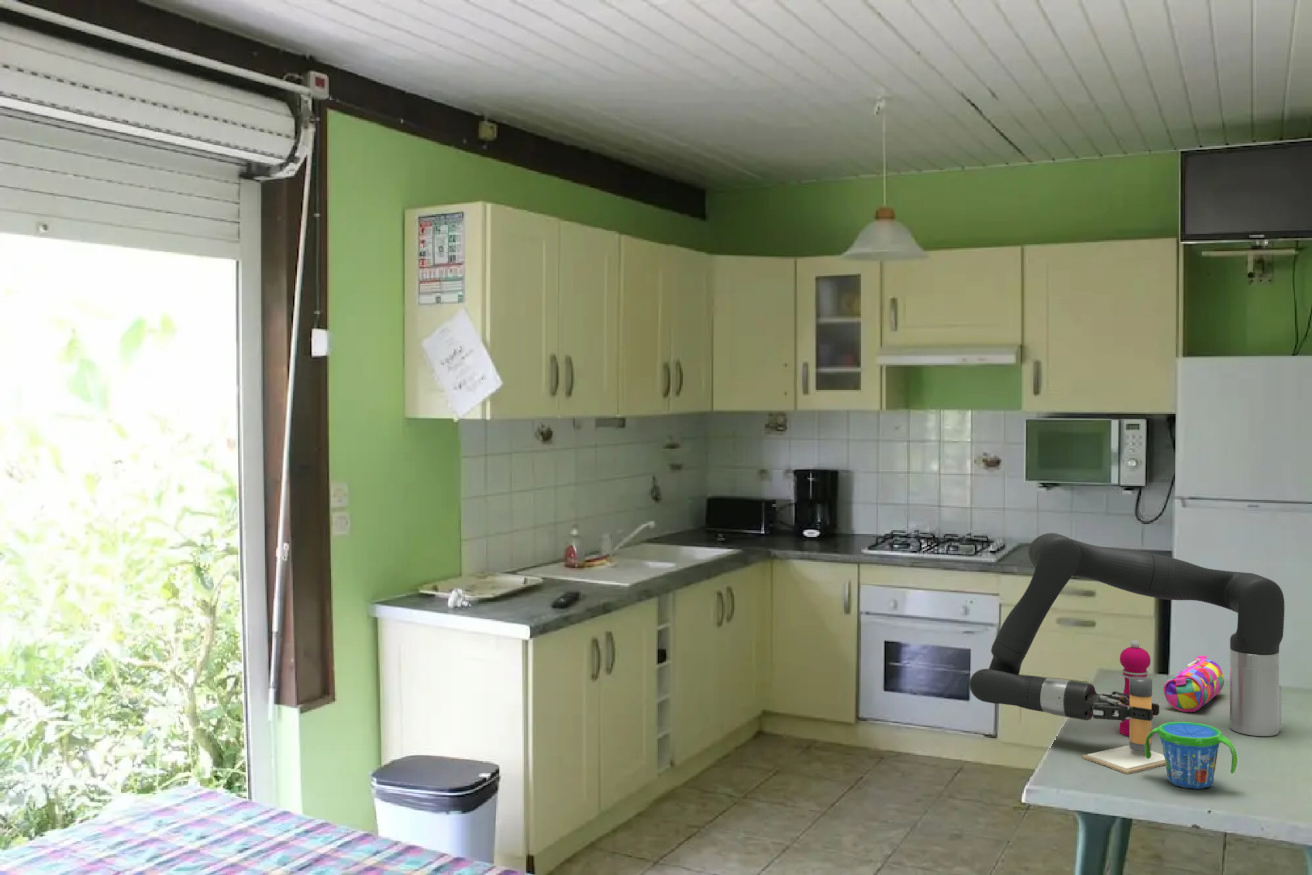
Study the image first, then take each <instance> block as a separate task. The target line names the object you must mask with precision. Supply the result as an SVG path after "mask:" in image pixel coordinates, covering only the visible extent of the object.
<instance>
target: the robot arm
mask: <svg viewBox="0 0 1312 875" xmlns="http://www.w3.org/2000/svg"><path fill="white" fill-rule="evenodd" d="M1028 557H1029V560H1030V562H1031V564H1032V566H1033V567H1034V572H1033V574H1032V577H1031V580H1030V582H1029V584H1028V586H1027V588H1026V590H1025V592H1024V593H1023V595H1022V596H1021V598H1020V599H1019V600H1018V601H1017V603H1016V604H1015V606H1014V607H1013V608H1012V609H1011V611H1010V612H1009V614H1008V615H1007V616H1006V618H1005V619H1004V622H1003V623H1002V625H1001V627H1000V629H999V631H998V633H997V635H996V637H995V639H994V641H993V643H992V645H991V650H990V651H991V655H992V659H991V661H990V665H989V666H988V668H982V669H979V670H976V671H975V672H974V673H973V674H972V676H971V677H970V679H969V689H970V692H971V694H972V695H973V697H975V698H976V699H978V701H981V702H985V703H990V704H994V705H998V704H999V705H1000V704H1001V705H1008V706H1015V707H1019V708H1022V709H1026V710H1031V711H1036V712H1041V713H1047V714H1050V715H1053V716H1057V717H1058V716H1059V717H1063V718H1064V717H1066V718H1070V719H1075V720H1083V721H1087V722H1088V721H1090V720H1091V719H1095V720H1112V721H1120V722H1122V721H1125V718H1126V719H1132V718H1134V719H1140V720H1146V721H1151V720H1152V721H1153V719H1154V717H1153V715H1154V716H1158V715H1159V714H1160V705H1159V704H1158V703H1153V702H1152V710H1151V709H1146V708H1140V707H1134V706H1133V707H1132V706H1130V704H1129V702H1130V695H1128V694H1124V693H1123V692H1120V691H1116V690H1115V691H1112V692H1103V693H1097V692H1096V688H1095V686H1094V684H1092V683H1091V682H1083V681H1076V680H1071V679H1063V678H1049V677H1048V678H1047V677H1041V676H1036V675H1035V676H1034V675H1022V674H1021V675H1020V672H1021V667H1022V663H1023V661H1024V660H1025V658H1026V656H1027V653H1028V651H1029V650H1030V648H1031V645H1032V644H1033V641H1034V640H1035V637H1036V636H1037V633H1038V631H1039V630H1040V628H1041V626H1042V623H1043V622H1044V619H1045V618H1046V616H1047V614H1048V613H1049V611H1050V610H1051V608H1052V606H1053V604H1054V603H1055V601H1056V600H1057V598H1058V597H1059V595H1060V593H1061V592H1062V591H1063V589H1064V588H1065V586H1066V585H1067V584H1068V582H1070V579H1072V577H1077V578H1084V579H1089V580H1094V581H1096V582H1100V583H1102V584H1105V585H1108V586H1111V587H1113V588H1116V589H1119V590H1123V591H1126V592H1128V593H1133V594H1136V595H1140V596H1145V597H1150V598H1155V599H1158V600H1159V599H1160V600H1169V601H1195V602H1196V601H1198V602H1203V603H1207V604H1209V605H1213V606H1214V605H1215V606H1217V607H1220V608H1223V609H1227V610H1229V611H1232V612H1234V613H1237V625H1236V632H1235V633H1232V634H1231V636H1230V637H1229V638H1230V639H1229V728H1230V729H1231V730H1232V731H1233V732H1237V733H1240V734H1243V735H1247V736H1254V737H1255V736H1257V737H1272V736H1277V735H1278V734H1280V731H1282V686H1281V685H1280V645H1281V643H1282V640H1283V637H1284V628H1285V627H1284V625H1285V597H1284V592H1283V591H1282V588H1281V587H1280V586H1279V584H1278V583H1276V582H1275V581H1273V580H1271V579H1269V578H1267V577H1265V576H1261V575H1259V574H1256V573H1254V572H1253V573H1251V572H1241V571H1232V570H1231V571H1230V570H1229V571H1228V570H1222V569H1221V570H1220V569H1213V568H1208V567H1204V566H1200V565H1197V564H1194V563H1191V562H1189V561H1185V560H1181V559H1179V558H1178V559H1177V558H1174V557H1170V556H1166V555H1161V554H1157V553H1153V552H1152V553H1151V552H1147V551H1140V550H1135V549H1125V548H1118V547H1117V548H1115V547H1105V546H1098V545H1093V544H1090V543H1086V542H1082V541H1078V540H1075V539H1072V538H1070V537H1068V536H1065V535H1062V534H1059V533H1054V532H1050V533H1049V532H1048V533H1044V534H1040V535H1039V536H1037V537H1036V538H1035V539H1033V540H1032V541H1031V543H1030V544H1029V547H1028ZM1152 721H1151V722H1152Z"/></svg>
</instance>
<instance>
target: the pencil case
mask: <svg viewBox="0 0 1312 875" xmlns="http://www.w3.org/2000/svg"><path fill="white" fill-rule="evenodd" d="M1207 658H1208V657H1207V655H1197V656H1196V659H1194V660H1193V661H1191V662H1190V663H1188V664H1186V668H1184V669H1182V670H1181V671H1179V672H1178V673H1177V674H1175V675H1173V676H1172V677H1170V678H1169V679H1168V680H1167V681H1165V683H1164V685H1163V694H1164V698H1166V701H1167V703H1168V704H1169V705H1170V706H1171V707H1172V708H1173V709H1176V710H1177V711H1180V712H1183V713H1184V712H1185V713H1194V712H1197V711H1199V710H1200V709H1201V708H1202V707H1204V706H1205V705H1207V704H1208V703H1209V702H1210V701H1212V699H1213V698H1215V697H1216V696H1217V695H1218V694H1220V692H1221V691H1222V689H1224V688H1223V687H1224V684H1225V679H1224V678H1225V677H1224V674H1223V671H1222V668H1221V667H1220V665H1219V663H1217V662H1215V661H1213V660H1211V659H1207Z"/></svg>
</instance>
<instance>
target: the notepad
mask: <svg viewBox="0 0 1312 875" xmlns="http://www.w3.org/2000/svg"><path fill="white" fill-rule="evenodd" d="M1150 752H1151V757H1150V758H1149V759H1147V758H1146V755H1145V752H1139V751H1134V750H1132V749H1130V748H1129V744H1128V745H1122V746H1118V747H1113V748H1108V749H1104V750H1101V751H1100V750H1099V751H1096V752H1091V753H1086V754H1082V755H1081V759H1084V760H1087V761H1088V762H1089V761H1090V762H1092V761H1093V762H1092V763H1095V762H1096V763H1095V764H1097V763H1099V764H1098V765H1100V764H1101V766H1103V765H1105V766H1104V767H1106V766H1107V767H1106V768H1108V767H1110V768H1109V769H1111V768H1112V769H1111V770H1114V769H1115V771H1116V770H1118V771H1117V772H1119V771H1120V773H1122V772H1123V773H1122V774H1125V775H1129V774H1130V773H1131V774H1135V773H1139V772H1142V771H1141V770H1143V771H1147V769H1148V770H1151V769H1155V768H1159V766H1160V767H1163V766H1162V765H1164V766H1166V763H1165V757H1164V754H1161V753H1159V752H1156V751H1153V750H1151V751H1150ZM1138 771H1139V772H1138Z"/></svg>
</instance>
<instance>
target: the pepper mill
mask: <svg viewBox="0 0 1312 875" xmlns="http://www.w3.org/2000/svg"><path fill="white" fill-rule="evenodd" d="M1140 645H1141V644H1140V642H1139V641H1138V640H1137V639H1132V640H1131V642H1130V646H1129V647H1126V648H1124V649H1123V650H1122V651H1121V652H1120V656H1119V662H1120V664H1121V666H1122V668H1123V669H1122V670H1121V671H1122V676H1123V677H1124V688H1123V692H1122V693H1124V694H1128V695H1130V694H1129V678H1130V677H1134V676H1140V677H1147V678H1149V676H1148V674H1149V671H1148V670H1147V669H1148V668H1149V667H1150V665H1151V660H1152V659H1151V656H1150V653H1149V652H1148V651H1147V650H1146V649H1144V648H1141V647H1140ZM1129 704H1130V702H1129ZM1154 716H1155V715H1153V718H1154ZM1152 721H1153V719H1152V720H1151V722H1152ZM1118 726H1119V729H1118V730H1119V733H1120V734H1122V735H1123V736H1127V737H1129V735H1130V719H1126V718H1125V721H1120V722H1119V725H1118Z"/></svg>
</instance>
